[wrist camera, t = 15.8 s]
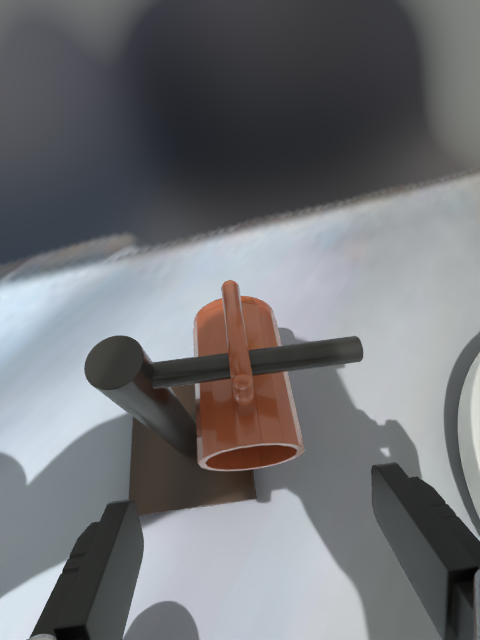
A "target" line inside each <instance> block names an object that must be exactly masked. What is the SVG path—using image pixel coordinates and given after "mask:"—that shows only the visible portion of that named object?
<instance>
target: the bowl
mask: <svg viewBox="0 0 480 640" xmlns="http://www.w3.org/2000/svg"><path fill="white" fill-rule="evenodd" d="M458 442H459V451H460V457H461V463H462V467H463V471H464V476H465V479H466V483H467V486H468V490H469V493H470V496H471V498H472V501H473V504H474V507H475V509H476V512H477V514H478V516H479V519H480V352H479V354H478V355H477V357H476V358H475V360H474V362H473V363H472V365H471V367H470V369H469V371H468V374H467V376H466V379H465V382H464V385H463V388H462V392H461V397H460V402H459V410H458Z"/></svg>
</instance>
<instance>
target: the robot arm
mask: <svg viewBox="0 0 480 640" xmlns="http://www.w3.org/2000/svg"><path fill="white" fill-rule="evenodd" d="M371 474H372V505H373V510H374V514H375V517H376V519H377V522H378V524H379V526H380V528H381V530H382V531H383V533H384V535H385V537H386V539H387V540H388V542H389V544H390V546H391V548H392V549H393V551H394V553H395V555H396V557H397V558H398V560H399V562H400V564H401V566H402V568H403V569H404V571H405V573H406V575H407V577H408V578H409V580H410V582H411V584H412V586H413V587H414V589H415V591H416V593H417V595H418V596H419V598H420V600H421V602H422V604H423V605H424V607H425V609H426V611H427V613H428V615H429V616H430V618H431V620H432V622H433V624H434V625H435V627H436V629H437V631H438V633H439V634H440V636H441V638H442V640H480V542H479V540H478V539H477V538H476V537H475V536H474V535H473V533H472V532H471V531H470V530H469V529H468V528H467V526H466V525H465V524H464V523H463V522H462V521H461V519H460V518H459V517H457V516H456V514H455V512H454V511H453V510H452V509H451V508H450V507H449V505H448V504H447V505H446V503H445V501H444V500H443V498H442V497H441V496H440V495H439V494H438V493H437V491H436V490H435V489H434V488H433V487H432V486H430V485H429V484H427V483H426V482H424V481H423V480H421V479H420V478H418V477H411V478H409V477H408V476H407V475H406V473H405V472H404V471H403V470H402V468H401V467H400V466H399V465H398V464H397V463H396V462H393V463H386V464H379V465H373V466H372V469H371ZM143 550H144V539H143V533H142V529H141V525H140V521H139V516H138V512H137V508H136V504H135V501H134V500H133V499H129V500H122V501H115V502H110V503H108V505H107V506H106V509H105V511H104V513H103V515H102V518H101V520H100V522H94V523H91V524H90V525H89V526H88V527H87V529H86V530H85V531H84V532H83V533H82V534H81V535H80V537H79V538H78V539H77V541H76V543H75V546H74V548H73V550H72V552H71V554H70V558H69V559H68V560H67V562H66V564H65V566H64V568H63V572H62V574H60V576H59V579H58V581H57V583H56V585H55V587H54V589H53V591H52V593H51V595H50V597H49V599H48V601H47V603H46V605H45V607H44V610H43V612H42V614H41V616H40V618H39V620H38V622H37V624H36V626H35V628H34V630H33V632H32V634H31V636H30V638H29V639H27V640H122V638H123V634H124V630H125V626H126V622H127V618H128V614H129V610H130V606H131V602H132V598H133V594H134V590H135V586H136V582H137V578H138V574H139V570H140V566H141V562H142V557H143Z"/></svg>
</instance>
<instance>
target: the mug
mask: <svg viewBox="0 0 480 640" xmlns="http://www.w3.org/2000/svg"><path fill="white" fill-rule="evenodd" d="M221 291H222V298H221V299H218V300H215V301H213V302H211V303H209V304H207V305H206V306H204V307H203V308H202V309H201V310H200V311H199V312H198V313H197V315H196V317H195V319H194V329H193V340H194V357H199V356H207V355H214V354H222V353H228V357H229V367H230V376H231V379H226V380H219V381H211V382H203V383H196V384H195V398H196V427H197V456H198V464H199V465H200V467H201V468H204V469H208V470H212V471H243V470H251V469H259V468H265V467H269V466H274V465H278V464H281V463H284V462H287V461H290V460H293V459H295V458H297V457H298V456H300V455H302V454H303V452H304V449H305V448H304V443H303V439H302V434H301V430H300V425H299V421H298V416H297V412H296V407H295V403H294V398H293V394H292V389H291V385H290V380H289V376H288V371H286V372H279V373H271V374H264V375H256V376H252V370H251V363H250V357H249V350H253V349H260V348H268V347H275V346H282V344H281V340H280V335H279V331H278V326H277V322H276V319H275V316H274V312H273V310H272V308H271V307H270V306H269V305H268V304H267V303H265V302H264V301H262V300H259V299H257V298H253V297H248V296H240V290H239V286H238V284H237V283H236V282H235V281H232V280H228V281H226V282H224V283H223V285H222V288H221Z"/></svg>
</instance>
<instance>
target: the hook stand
mask: <svg viewBox="0 0 480 640" xmlns="http://www.w3.org/2000/svg"><path fill="white" fill-rule="evenodd" d="M249 357H250V363H251V370H252V376H256V375H264V374H271V373H279V372H286V371H294V370H301V369H309V368H316V367H324V366H331V365H339V364H346V363H354V362H360V361H361V360H362V359H363V347H362V344H361V341H360V339H359V338H358V337H356V336H352V337H344V338H336V339H329V340H321V341H314V342H306V343H298V344H291V345H283V346H275V347H268V348H260V349H253V350H249ZM84 369H85V376H86V378H87V380H88V382H89V383H90V384H91V385H92V386H94V387H95V388H96V389H98V390H99V391H100V392H101V393H103V394H104V395H105V396H107V397H108V398H109V399H111V400H112V401H113V402H115V403H116V404H117V405H119V406H120V407H121V408H123V409H124V410H125V411H126V412H128V413H129V414H130V415H132V416H133V429H132V449H131V468H130V488H129V499H133V500H134V501H135V504H136V508H137V512H138V516H141V515H149V514H156V513H163V512H170V511H177V510H184V509H191V508H198V507H205V506H213V505H220V504H227V503H234V502H241V501H248V500H255V499H256V492H255V484H254V476H253V469H251V470H243V471H212V470H208V469H204V468H201V467H200V465H199V464H198V456H197V427H196V398H195V384H196V383H203V382H211V381H219V380H226V379H231V376H230V367H229V357H228V353H222V354H214V355H207V356H199V357H192V358H184V359H176V360H169V361H161V362H154V363H153V362H152V361H151V360H150V358H149V357H148V355H147V354H146V352H145V351H144V350H143V348H142V347H141V345H140V344H139V343H138V342H137V341H136V340H134V339H133V338H131V337H128V336H113V337H109V338H107V339H105V340H103V341H101V342H100V343H98V344H97V345H96V346H95V347H94V348H93V349H92V350H91V351H90V353H89V354H88V356H87V359H86V361H85V368H84ZM188 384H190V385H188ZM181 385H183V386H181ZM173 386H175V387H173Z"/></svg>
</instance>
